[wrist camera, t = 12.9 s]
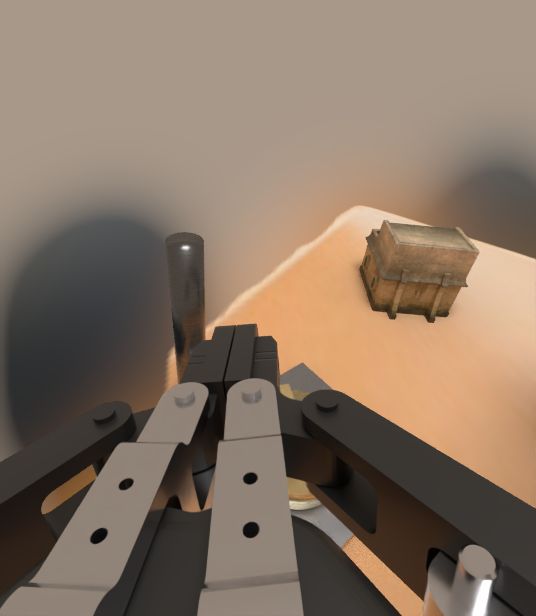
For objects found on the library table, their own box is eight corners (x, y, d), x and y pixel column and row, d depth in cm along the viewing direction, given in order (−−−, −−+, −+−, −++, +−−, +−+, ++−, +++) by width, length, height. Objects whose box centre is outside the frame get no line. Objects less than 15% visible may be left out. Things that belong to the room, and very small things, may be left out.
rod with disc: (361, 440, 36) (428, 294, 25) (319, 535, 29) (386, 391, 18) (211, 359, 42) (211, 214, 31) (147, 421, 35) (117, 262, 24)
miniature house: (465, 326, 55) (502, 260, 47) (372, 318, 54) (396, 250, 47) (431, 271, 66) (458, 211, 59) (355, 264, 66) (372, 203, 59)
